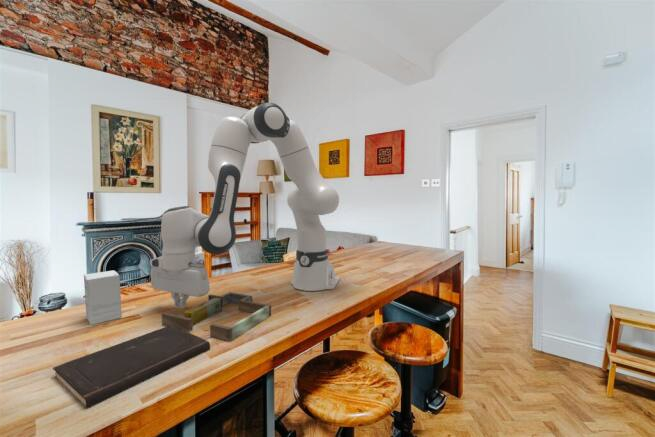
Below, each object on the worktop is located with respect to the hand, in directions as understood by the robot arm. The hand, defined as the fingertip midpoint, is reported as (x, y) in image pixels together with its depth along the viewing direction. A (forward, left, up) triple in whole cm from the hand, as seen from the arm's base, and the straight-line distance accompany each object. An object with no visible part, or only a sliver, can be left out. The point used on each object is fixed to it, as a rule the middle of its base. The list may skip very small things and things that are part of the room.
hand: (180, 306), depth 89 cm
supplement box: (+12, -16, -2) cm, 20 cm away
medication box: (0, +9, -2) cm, 10 cm away
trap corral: (-2, +15, -1) cm, 15 cm away
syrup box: (-16, -12, -2) cm, 20 cm away
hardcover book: (+23, +15, -2) cm, 27 cm away
